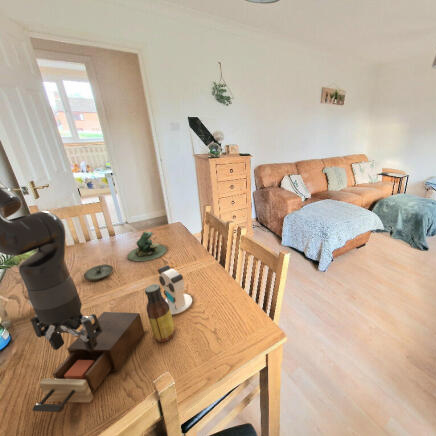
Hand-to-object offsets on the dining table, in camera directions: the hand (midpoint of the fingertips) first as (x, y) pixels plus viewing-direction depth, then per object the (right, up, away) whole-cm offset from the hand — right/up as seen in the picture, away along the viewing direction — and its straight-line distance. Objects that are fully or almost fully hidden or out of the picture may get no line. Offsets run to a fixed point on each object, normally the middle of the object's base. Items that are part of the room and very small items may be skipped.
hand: (75, 347), depth 61 cm
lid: (-32, +7, +47) cm, 58 cm away
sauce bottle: (+13, -6, +19) cm, 24 cm away
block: (0, -10, +3) cm, 10 cm away
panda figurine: (+10, -1, +33) cm, 34 cm away
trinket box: (-36, 0, +30) cm, 47 cm away
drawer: (-1, -11, +2) cm, 12 cm away
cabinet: (0, -8, +13) cm, 16 cm away
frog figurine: (-22, +15, +67) cm, 72 cm away
